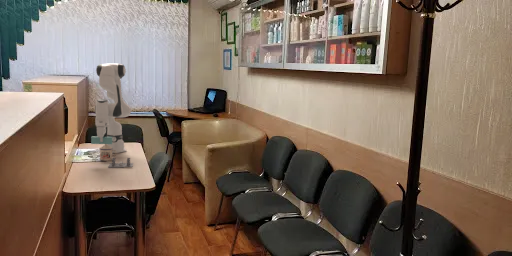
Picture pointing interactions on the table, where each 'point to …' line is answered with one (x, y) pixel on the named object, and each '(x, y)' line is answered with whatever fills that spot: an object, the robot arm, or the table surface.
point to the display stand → (120, 164)
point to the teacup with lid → (106, 153)
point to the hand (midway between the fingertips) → (101, 141)
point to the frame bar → (97, 140)
